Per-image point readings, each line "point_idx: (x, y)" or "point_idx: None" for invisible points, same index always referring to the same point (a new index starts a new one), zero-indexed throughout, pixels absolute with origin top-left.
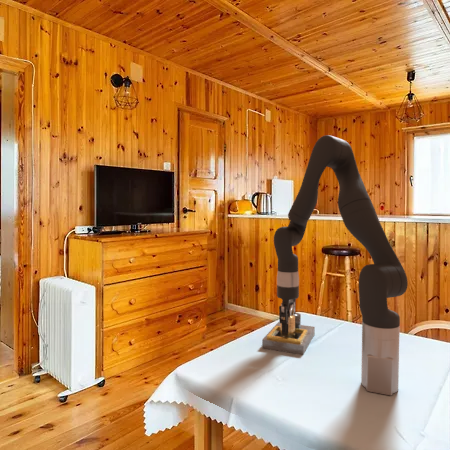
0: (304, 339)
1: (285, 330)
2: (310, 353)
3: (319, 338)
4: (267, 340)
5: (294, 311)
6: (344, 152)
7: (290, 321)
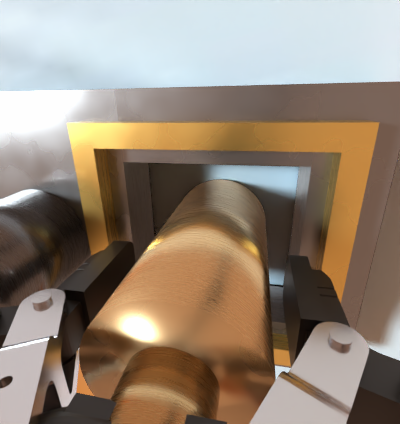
0: (246, 109)
1: (332, 297)
2: (324, 41)
3: (25, 47)
4: None
5: (21, 348)
6: None
7: (258, 314)
